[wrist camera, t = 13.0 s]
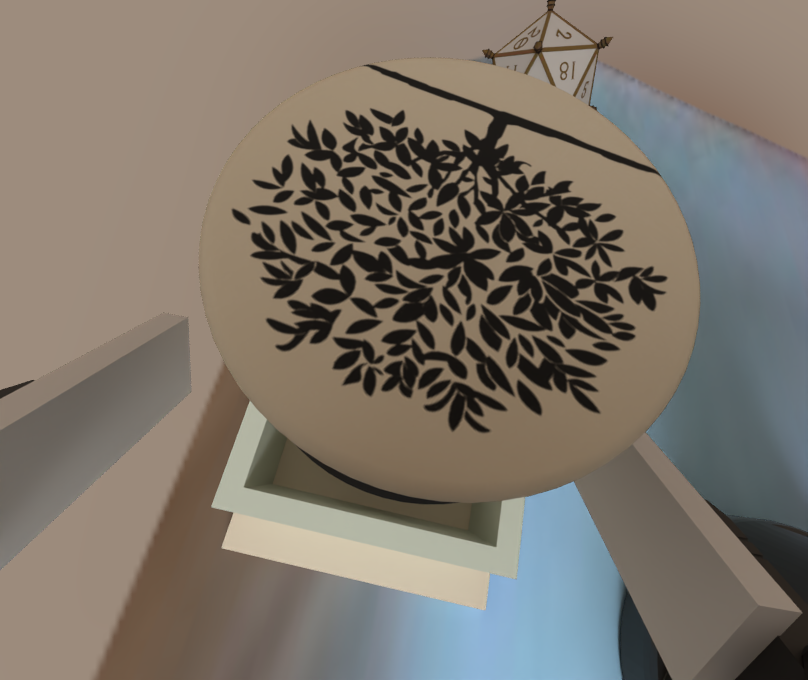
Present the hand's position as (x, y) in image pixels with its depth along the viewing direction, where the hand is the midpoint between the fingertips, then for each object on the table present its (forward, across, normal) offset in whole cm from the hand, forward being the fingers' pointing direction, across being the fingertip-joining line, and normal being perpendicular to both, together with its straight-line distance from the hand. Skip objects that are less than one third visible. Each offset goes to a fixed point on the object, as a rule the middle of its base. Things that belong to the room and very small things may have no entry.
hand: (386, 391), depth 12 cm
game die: (+26, +7, +12) cm, 30 cm away
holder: (+9, +1, -7) cm, 11 cm away
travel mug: (+8, +1, -6) cm, 11 cm away
